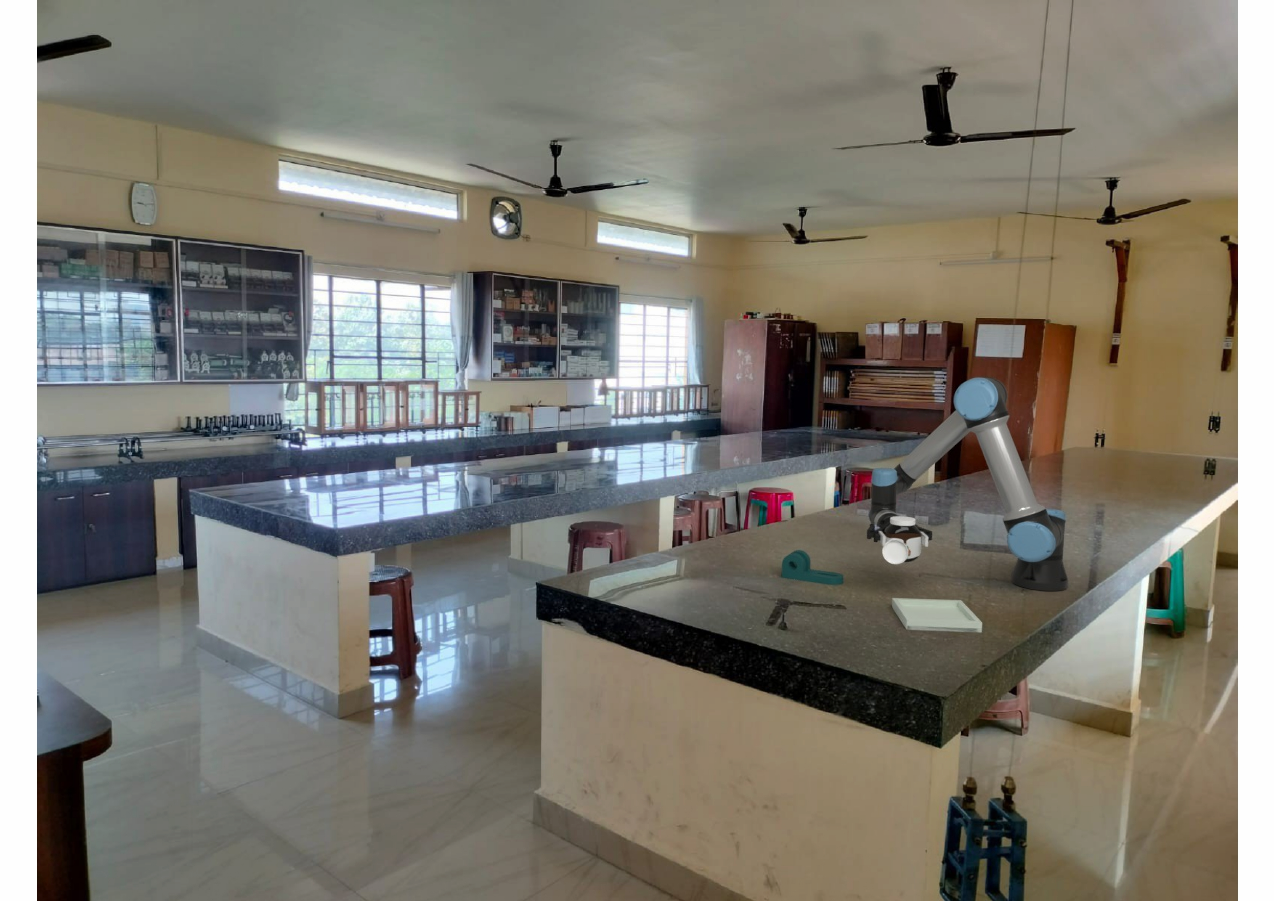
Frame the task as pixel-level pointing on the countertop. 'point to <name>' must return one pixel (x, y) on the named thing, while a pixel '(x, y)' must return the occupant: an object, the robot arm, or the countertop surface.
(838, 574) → the bracket
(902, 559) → the spread jar
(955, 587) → the countertop surface
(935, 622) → the tray
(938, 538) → the countertop surface
